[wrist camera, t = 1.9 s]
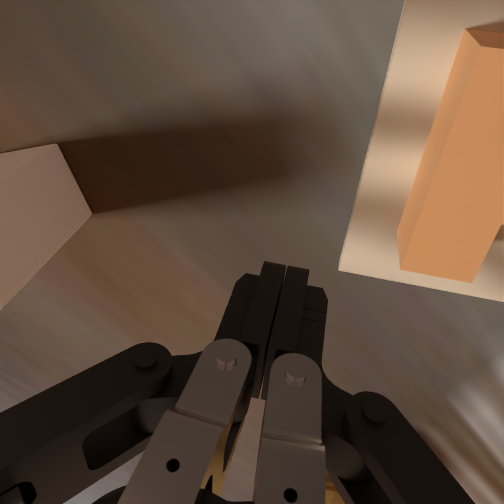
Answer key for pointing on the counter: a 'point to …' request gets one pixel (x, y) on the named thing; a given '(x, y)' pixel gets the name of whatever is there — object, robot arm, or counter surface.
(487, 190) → the t block
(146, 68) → the counter surface
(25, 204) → the milk
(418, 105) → the push board
